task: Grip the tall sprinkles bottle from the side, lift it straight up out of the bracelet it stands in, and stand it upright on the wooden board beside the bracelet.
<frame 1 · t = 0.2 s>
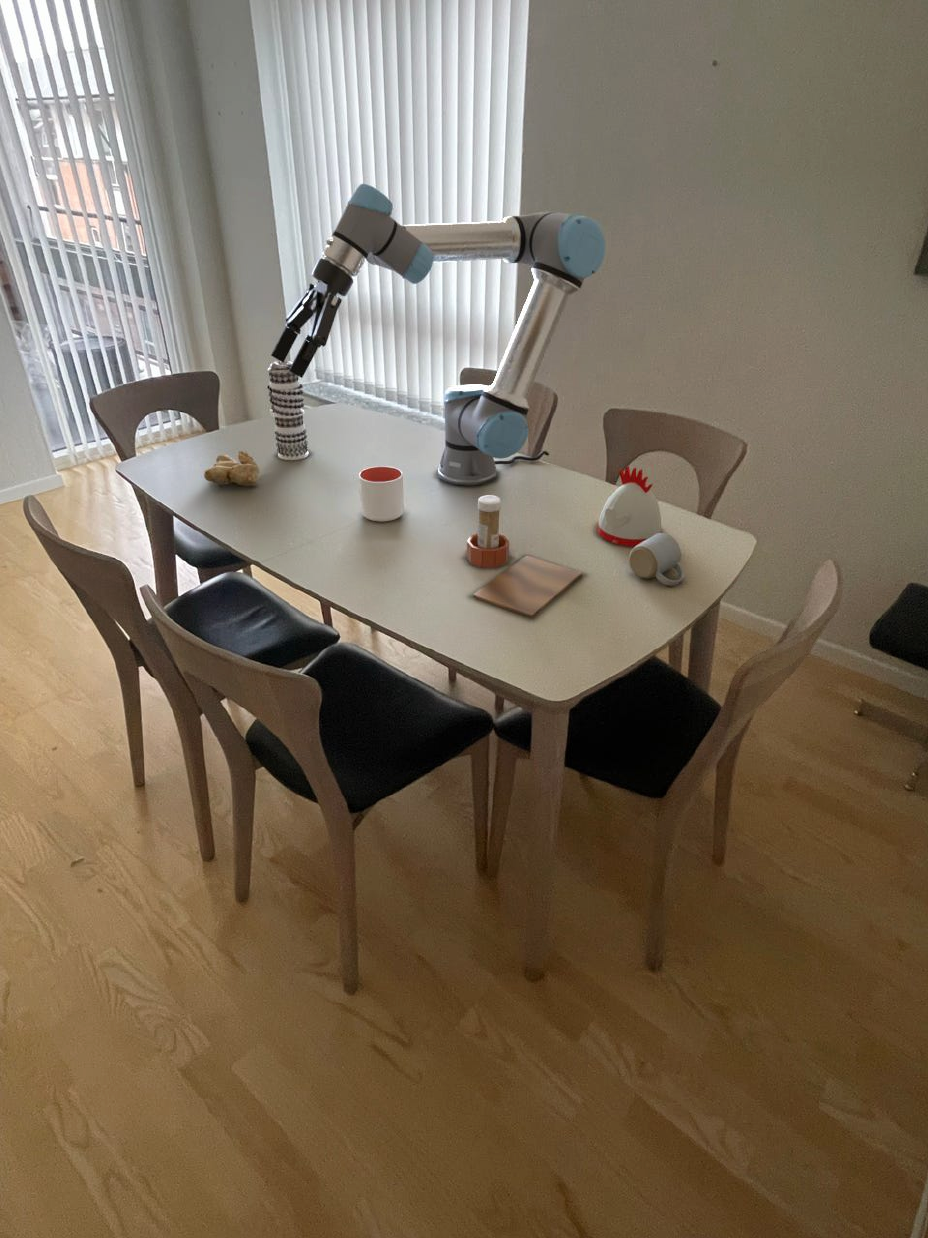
hand: (285, 366, 148), 36 cm above the table, tool tilted 35°, fingers open, 13 cm apart
ginger root: (236, 483, 190), on the table
sprinkles bottle: (487, 559, 156), resting in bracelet
wooden board: (528, 585, 146), on the table
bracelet: (487, 558, 156), on the table
cup: (383, 515, 174), on the table
ceramic mug: (657, 575, 150), on the table
patterned tall cylinder: (293, 455, 207), on the table
kitchen timer: (628, 533, 167), on the table
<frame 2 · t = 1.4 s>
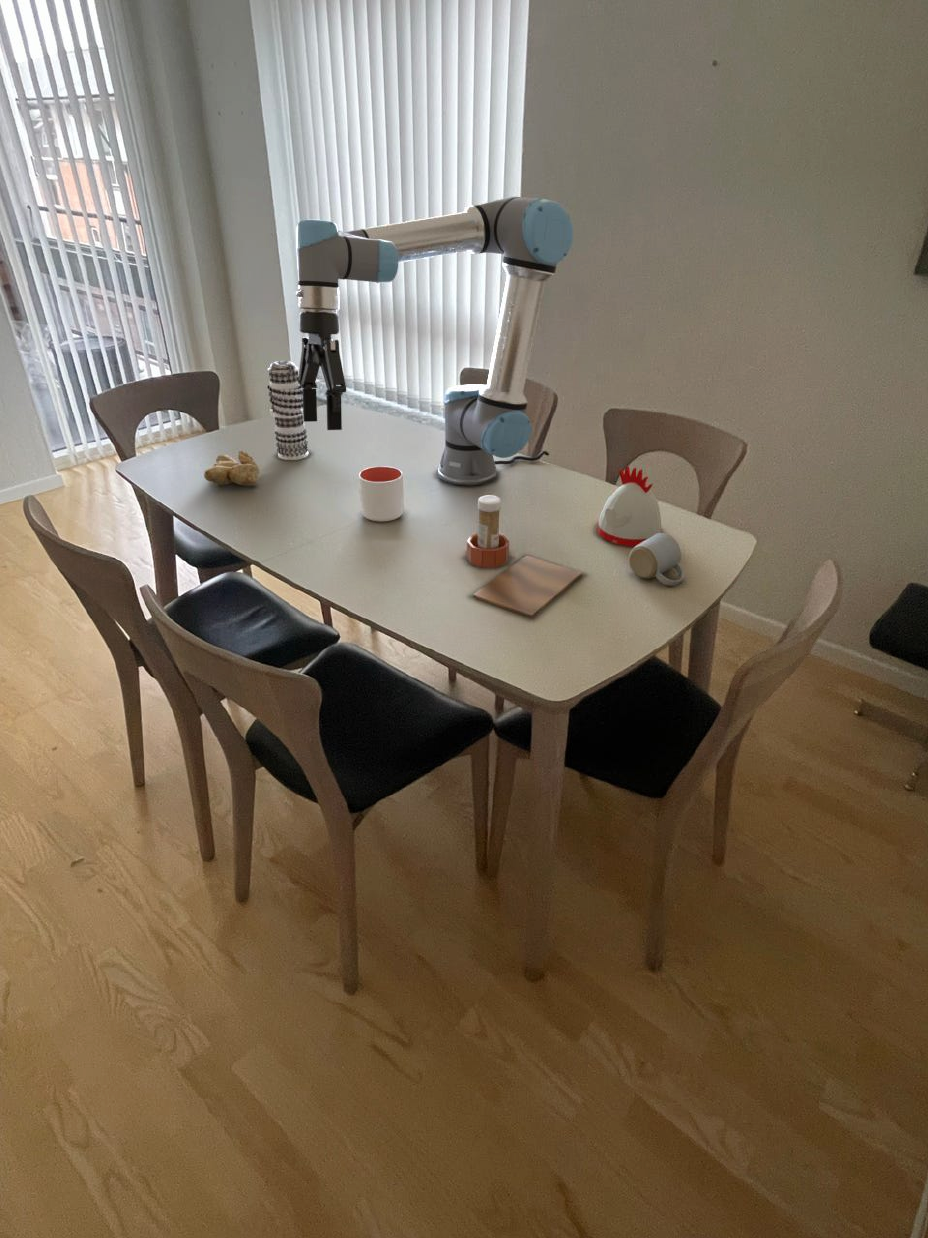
hand: (322, 425, 149), 25 cm above the table, tool pointing down, fingers open, 13 cm apart
nothing on the table moved.
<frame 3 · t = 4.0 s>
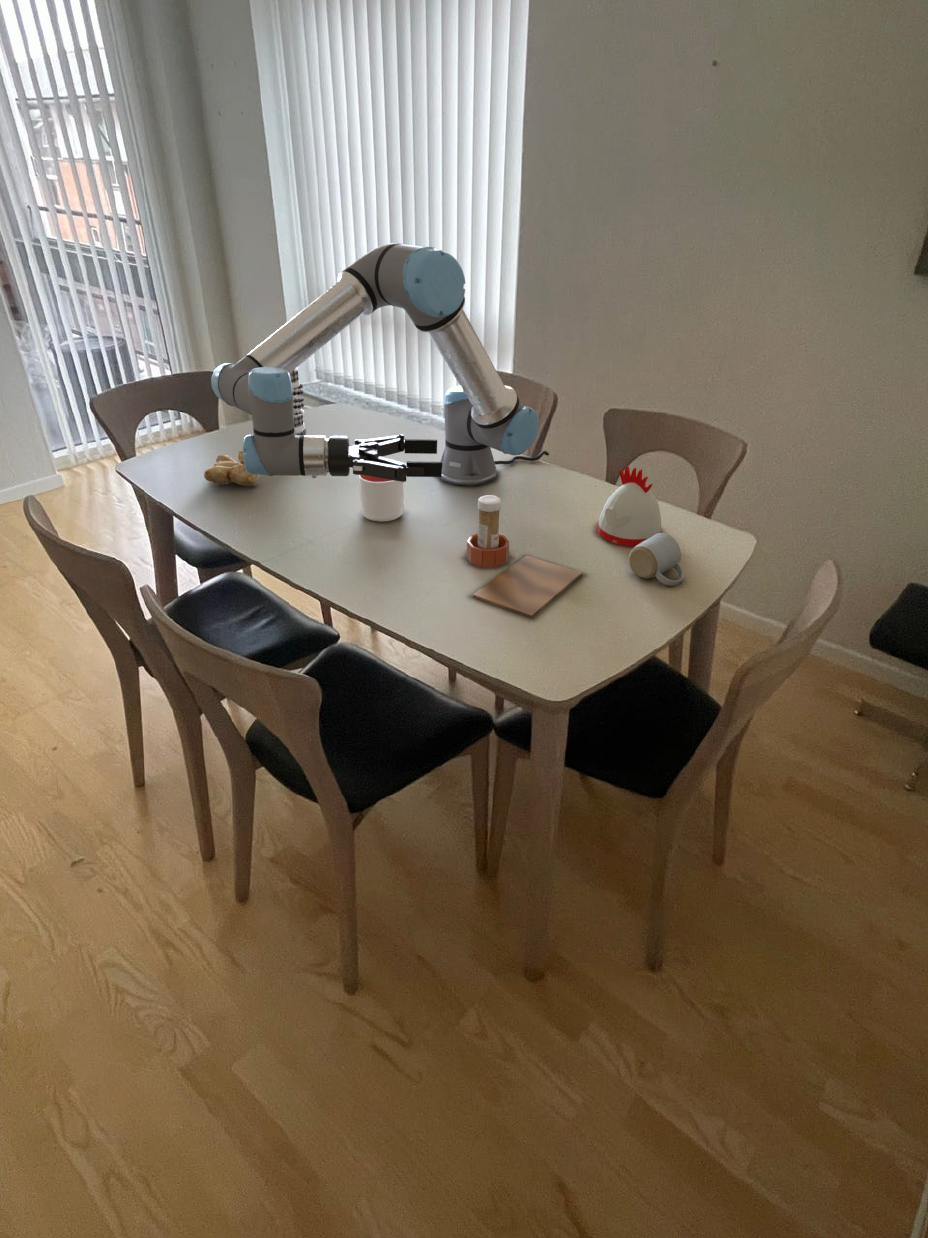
hand: (439, 457, 144), 22 cm above the table, tool horizontal, fingers open, 13 cm apart
nothing on the table moved.
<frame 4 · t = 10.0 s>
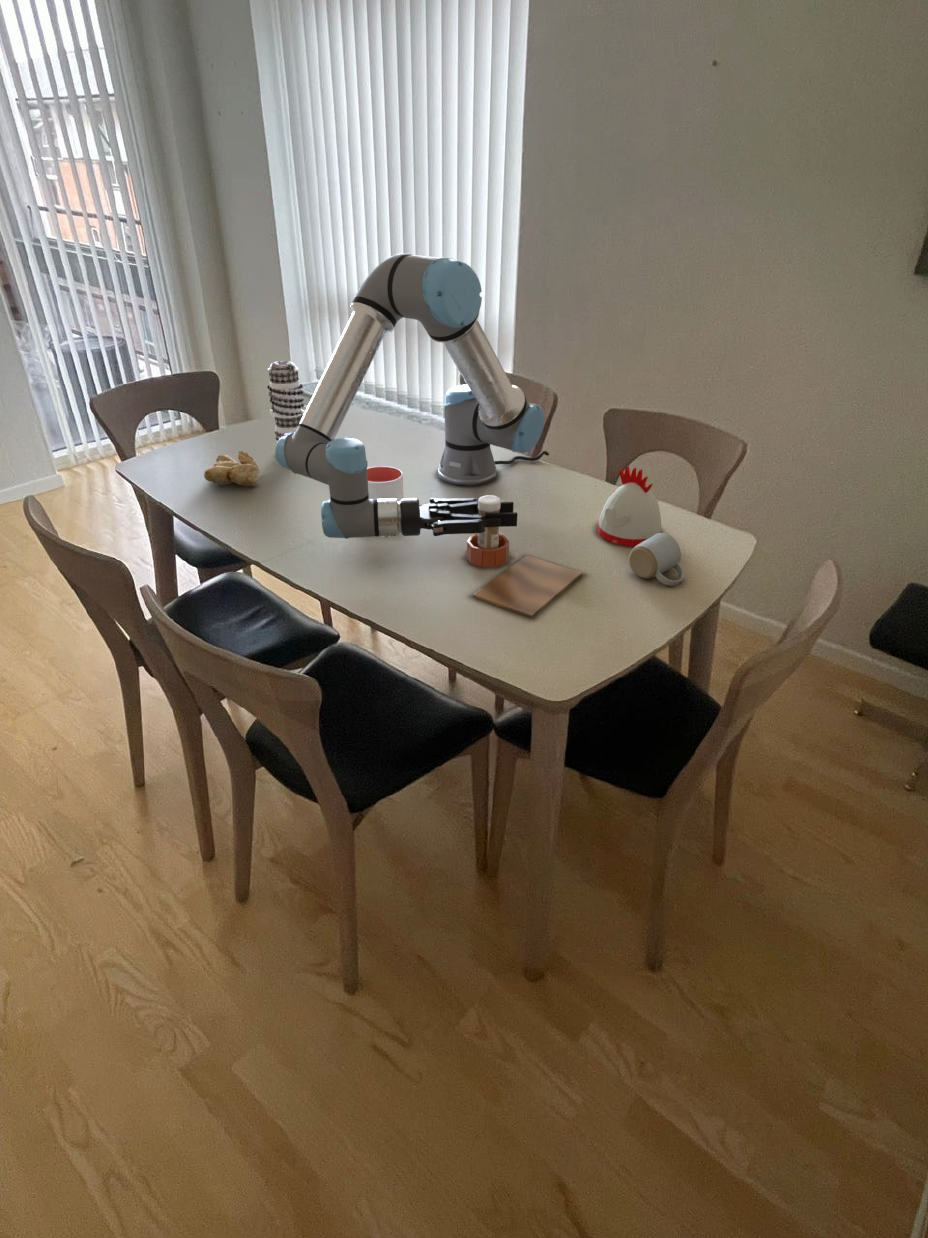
hand: (514, 513, 151), 10 cm above the table, tool horizontal, fingers closed on sprinkles bottle, 5 cm apart
sprinkles bottle: (487, 559, 156), resting in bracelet, touching gripper
everything else where it was.
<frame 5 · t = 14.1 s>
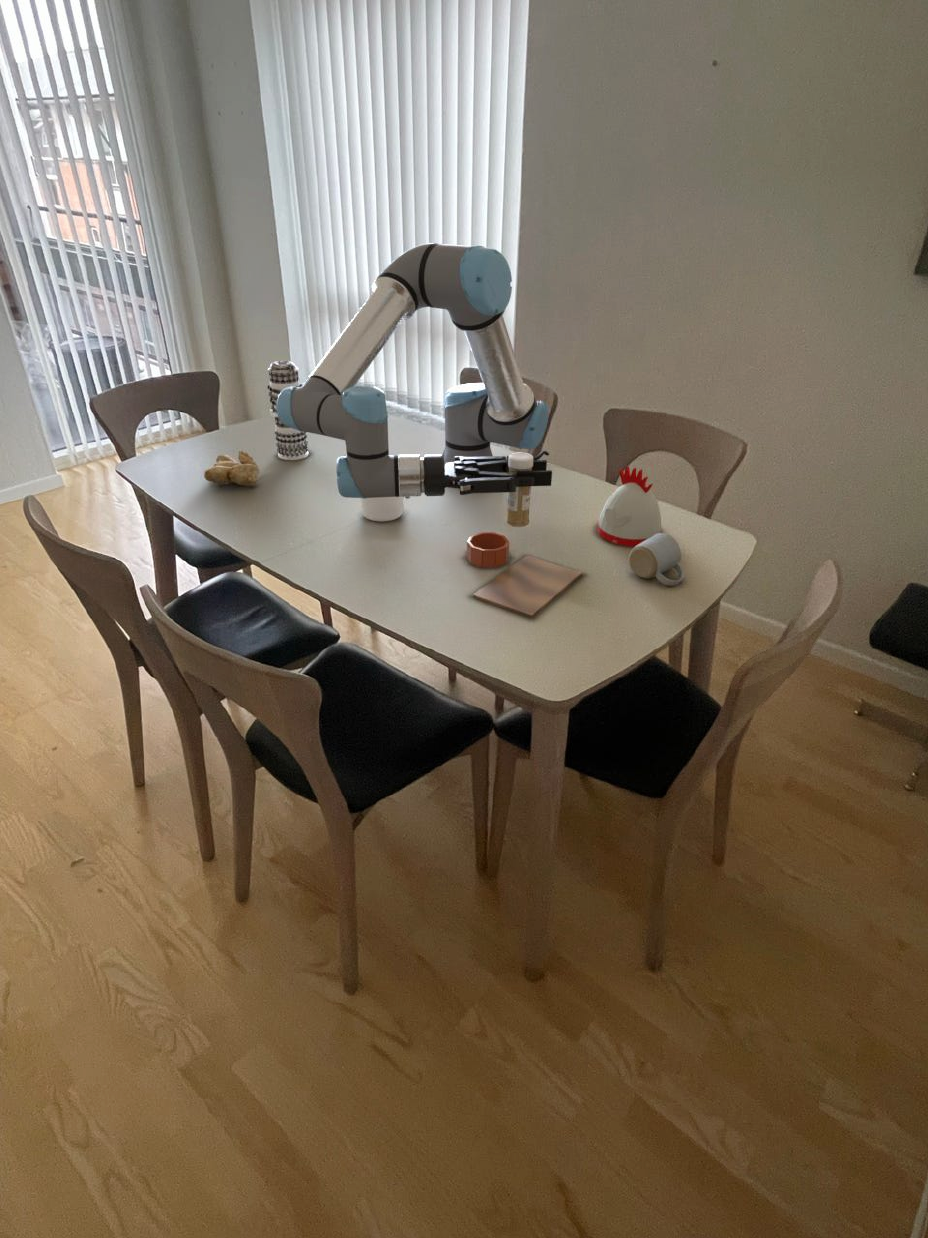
hand: (548, 472, 137), 22 cm above the table, tool horizontal, fingers closed on sprinkles bottle, 5 cm apart
sprinkles bottle: (517, 523, 142), point 12 cm above the table, touching gripper
everything else where it was.
when the fingers open (11 cm above the table, at t = 18.4 s): sprinkles bottle stays where it is, resting on wooden board.
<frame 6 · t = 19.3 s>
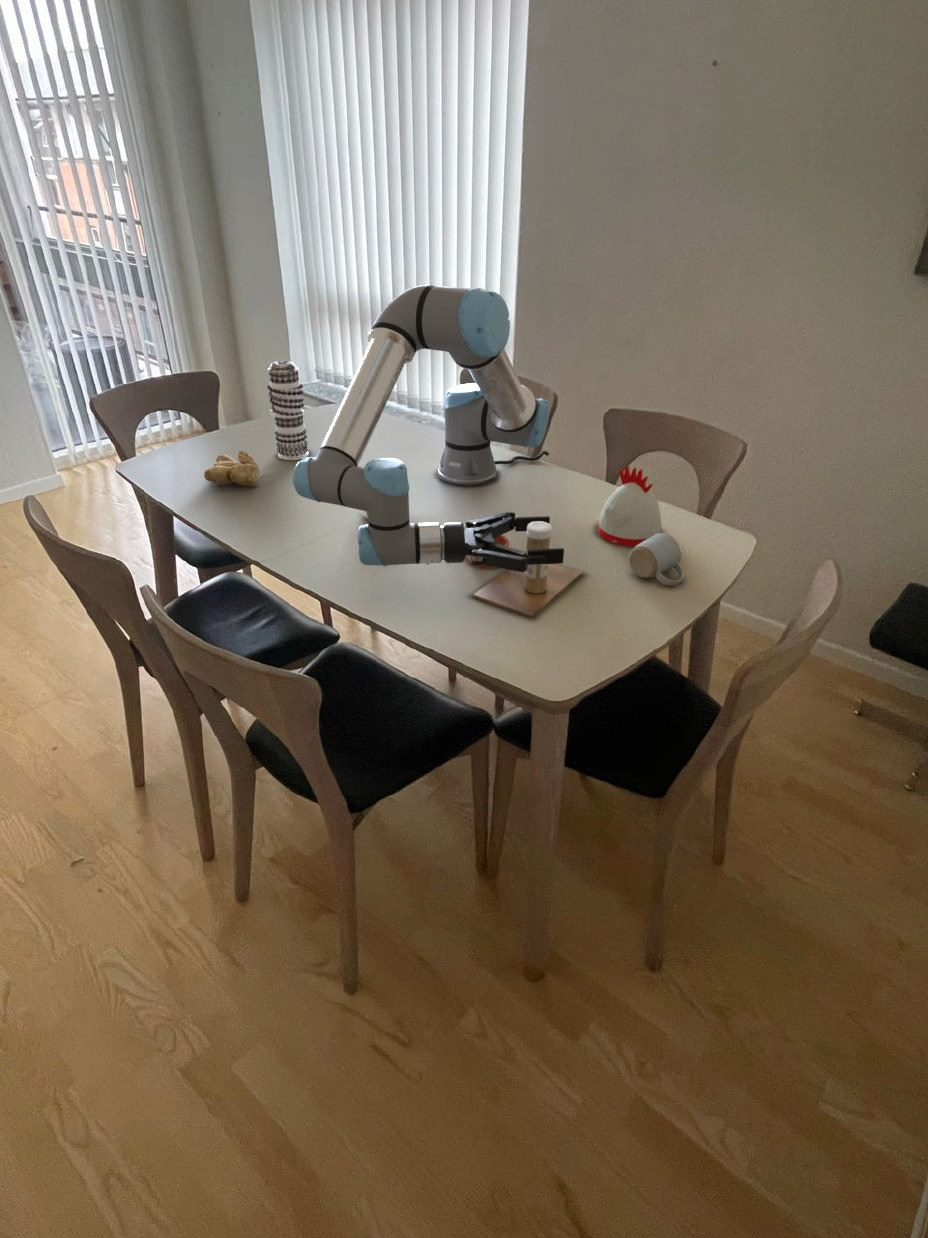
hand: (556, 538, 139), 11 cm above the table, tool horizontal, fingers open, 13 cm apart
sprinkles bottle: (535, 589, 144), resting on wooden board
everything else where it was.
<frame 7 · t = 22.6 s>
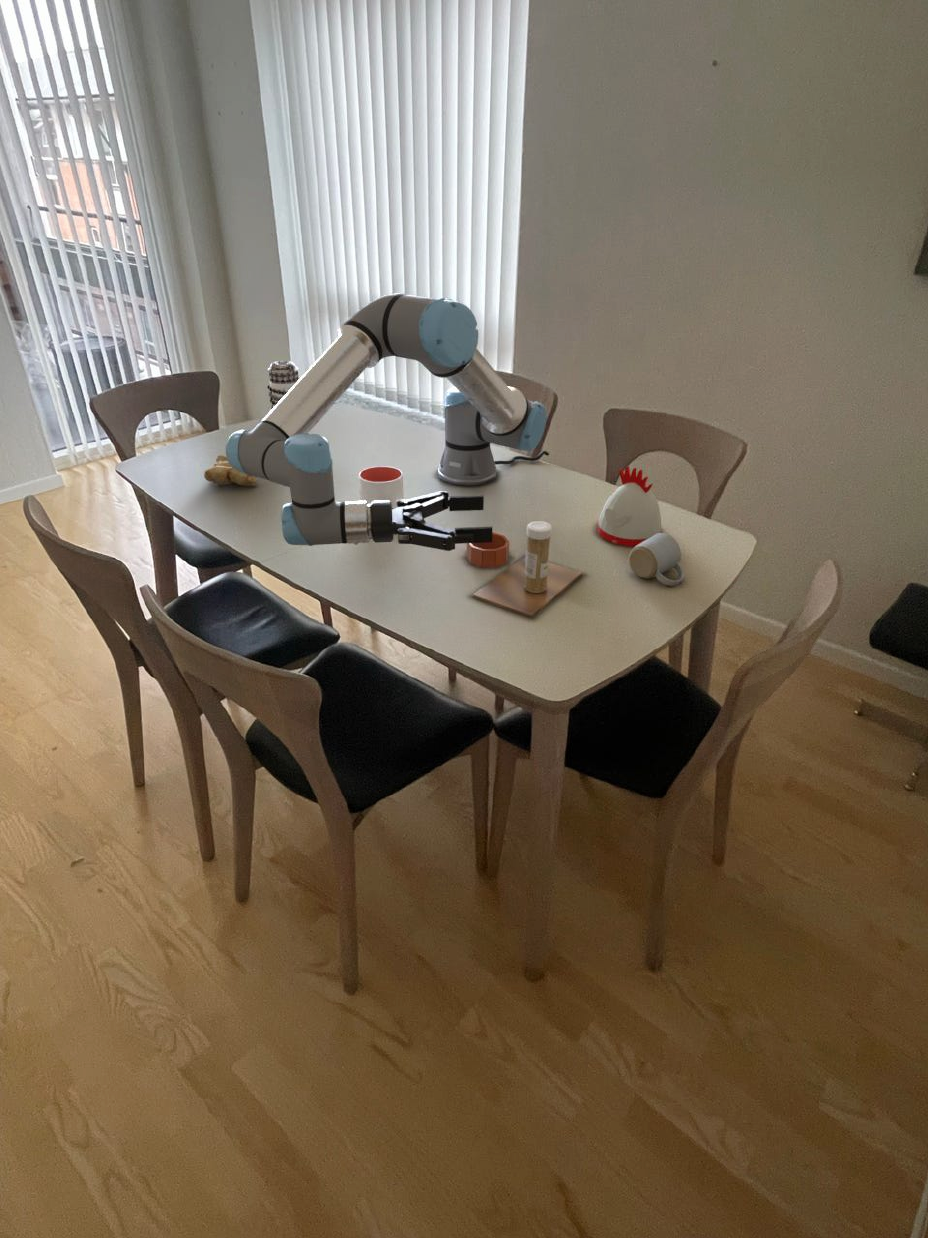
hand: (487, 517, 135), 16 cm above the table, tool horizontal, fingers open, 13 cm apart
nothing on the table moved.
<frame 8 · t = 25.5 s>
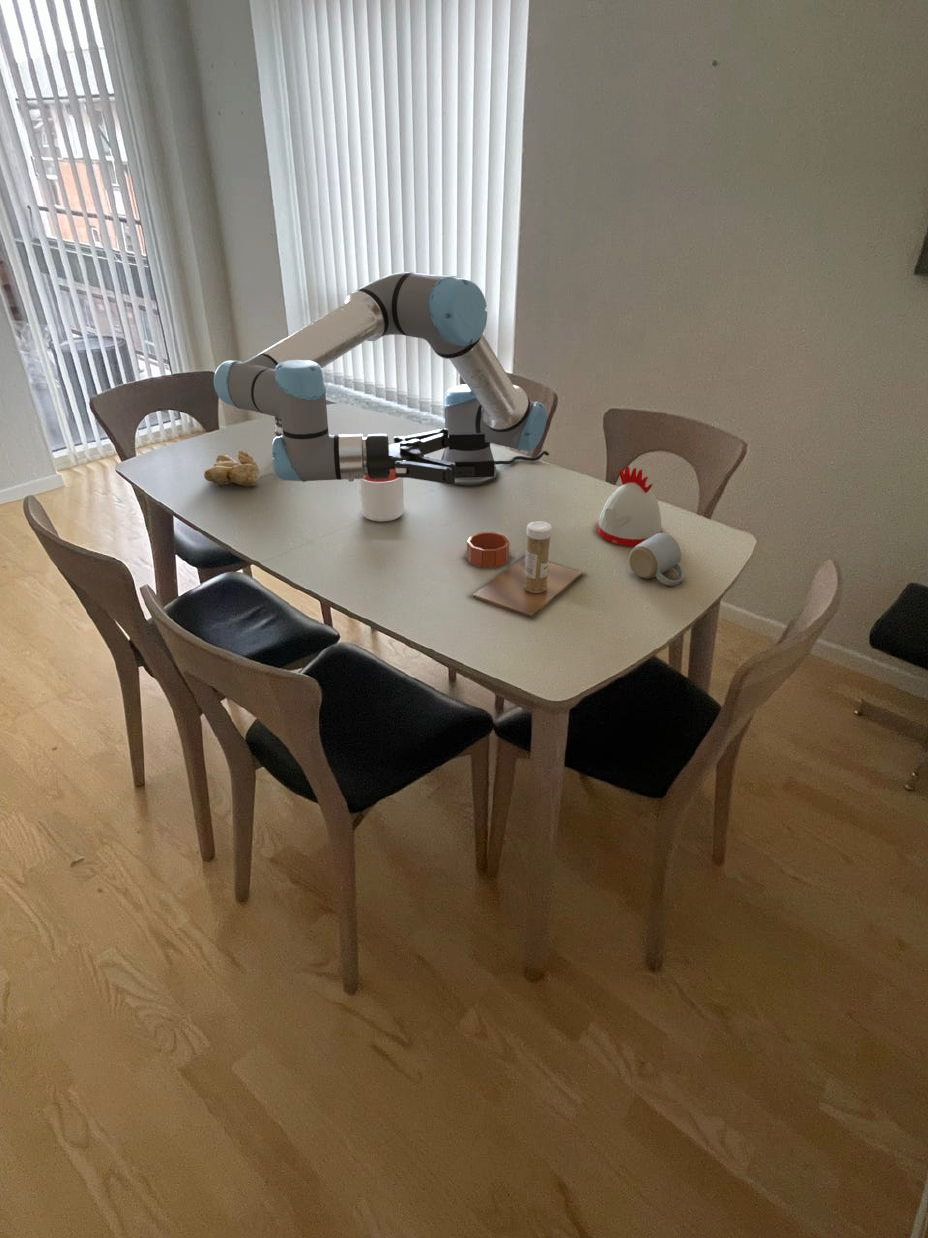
hand: (489, 453, 129), 28 cm above the table, tool horizontal, fingers open, 13 cm apart
nothing on the table moved.
at the end: sprinkles bottle inside the target area (0.8 cm from its centre), resting on wooden board; sprinkles bottle tilted 0°; the gripper is holding nothing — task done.
